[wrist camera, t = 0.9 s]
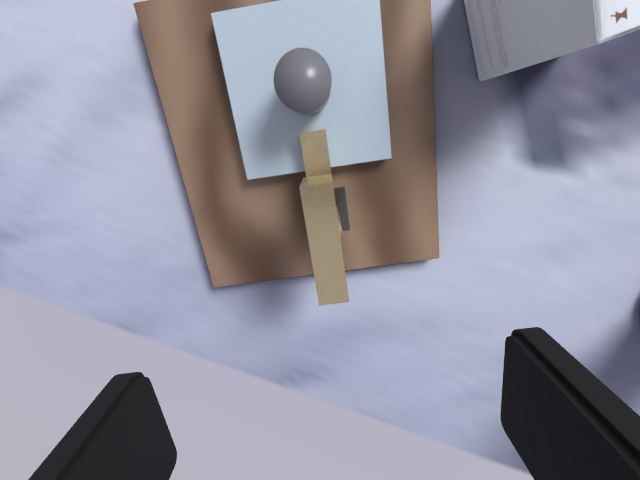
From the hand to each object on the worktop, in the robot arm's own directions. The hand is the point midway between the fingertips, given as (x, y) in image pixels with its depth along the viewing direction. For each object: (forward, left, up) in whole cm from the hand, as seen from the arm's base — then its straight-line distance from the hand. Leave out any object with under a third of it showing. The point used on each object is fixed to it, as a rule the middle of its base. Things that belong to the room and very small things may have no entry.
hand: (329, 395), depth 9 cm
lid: (0, -10, -22) cm, 24 cm away
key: (0, -1, -21) cm, 22 cm away
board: (+1, -6, -23) cm, 24 cm away
